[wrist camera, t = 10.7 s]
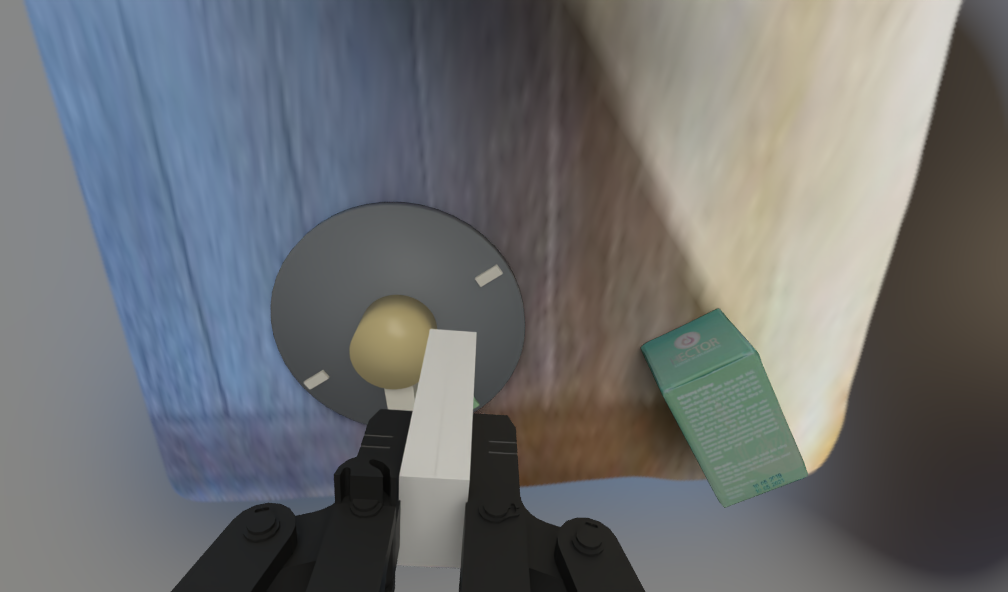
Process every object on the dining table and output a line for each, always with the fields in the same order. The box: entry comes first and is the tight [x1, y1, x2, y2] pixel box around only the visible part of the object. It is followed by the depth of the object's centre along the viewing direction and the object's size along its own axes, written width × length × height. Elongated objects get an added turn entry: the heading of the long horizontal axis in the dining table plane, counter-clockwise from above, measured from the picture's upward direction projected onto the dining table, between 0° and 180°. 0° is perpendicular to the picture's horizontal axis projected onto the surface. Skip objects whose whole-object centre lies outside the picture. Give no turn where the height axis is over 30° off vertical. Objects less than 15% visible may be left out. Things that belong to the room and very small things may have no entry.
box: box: [641, 308, 808, 508], centre depth 44 cm, size 7×14×8 cm, turn 30°
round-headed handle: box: [349, 295, 437, 411], centre depth 43 cm, size 13×6×4 cm, turn 3°
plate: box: [271, 202, 525, 425], centre depth 44 cm, size 20×20×2 cm
